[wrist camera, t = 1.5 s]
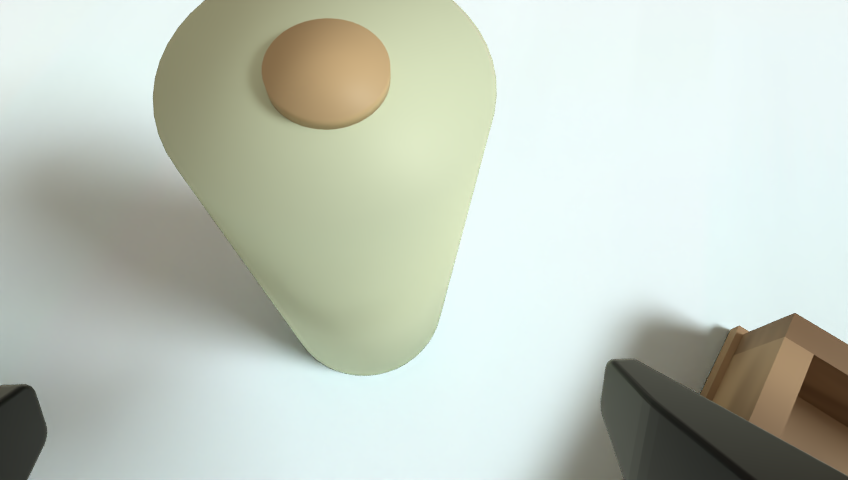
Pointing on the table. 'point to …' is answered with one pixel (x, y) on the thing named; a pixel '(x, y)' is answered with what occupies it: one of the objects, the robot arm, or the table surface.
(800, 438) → the holder
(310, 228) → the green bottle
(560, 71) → the table surface
